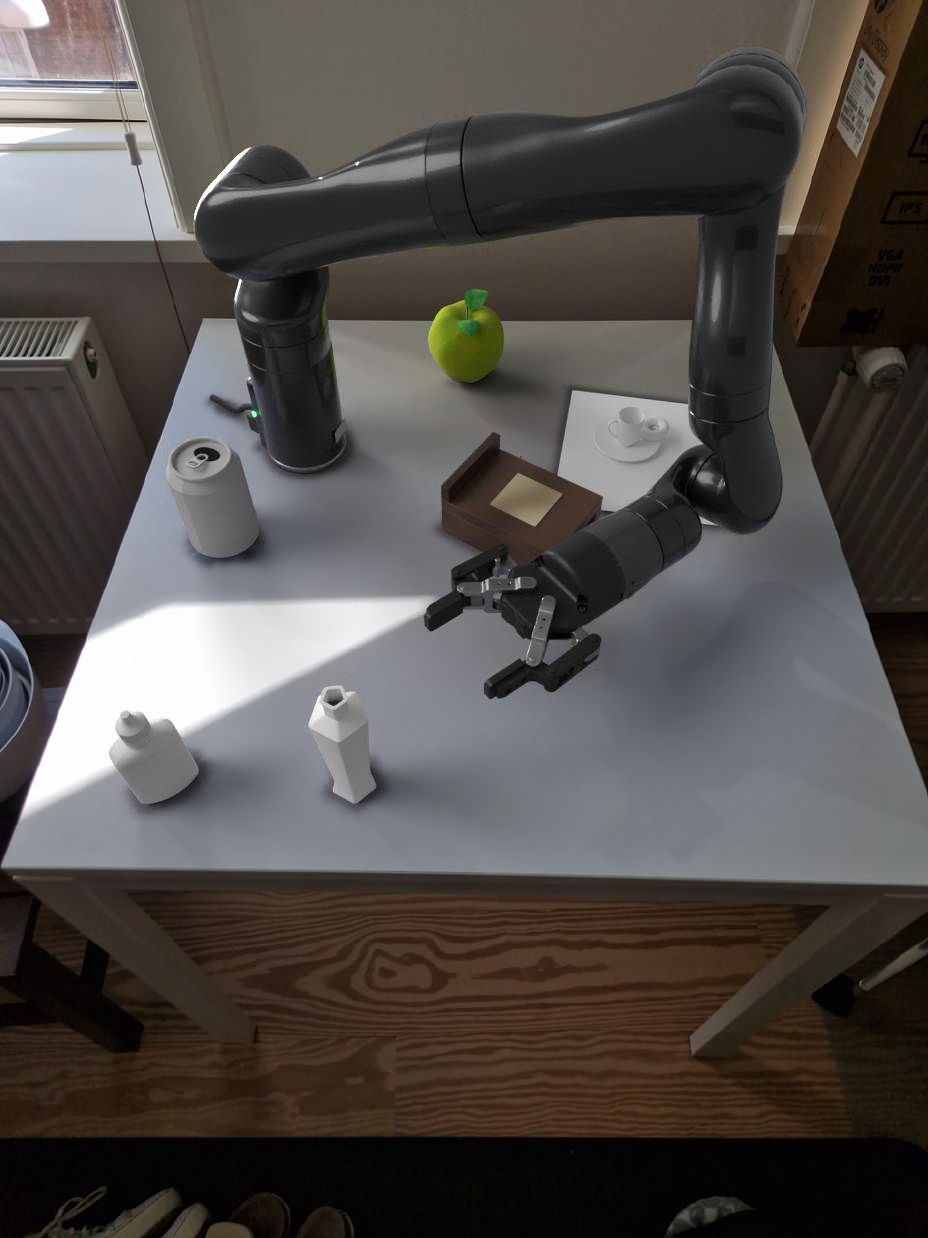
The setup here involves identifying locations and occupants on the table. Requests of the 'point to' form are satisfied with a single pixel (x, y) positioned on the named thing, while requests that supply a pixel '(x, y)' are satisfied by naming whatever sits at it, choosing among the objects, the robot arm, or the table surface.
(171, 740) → the eye dropper bottle
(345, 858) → the table surface
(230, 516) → the can
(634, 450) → the teacup and saucer
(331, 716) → the white faceted vase
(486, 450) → the wooden display stand
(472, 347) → the fruit
